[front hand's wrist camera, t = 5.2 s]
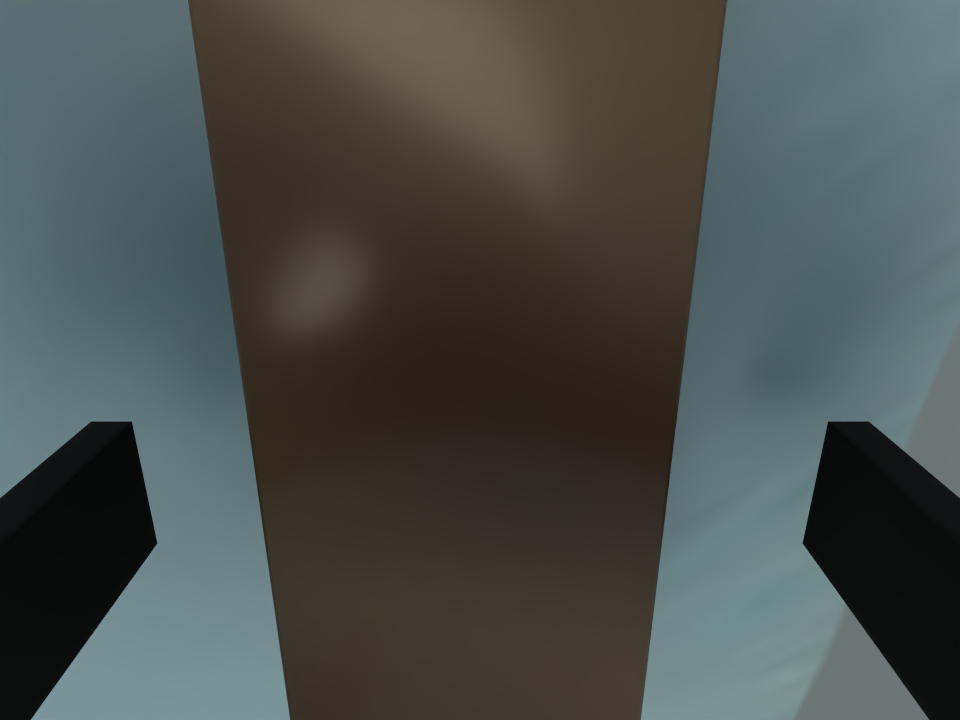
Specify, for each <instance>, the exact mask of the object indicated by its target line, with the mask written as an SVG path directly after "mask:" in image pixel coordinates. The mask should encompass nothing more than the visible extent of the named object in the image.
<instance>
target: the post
mask: <svg viewBox="0 0 960 720" xmlns="http://www.w3.org/2000/svg"><path fill="white" fill-rule="evenodd" d="M188 3H189V10H190V17H191V24H192V31H193V38H194V45H195V52H196V59H197V66H198V73H199V80H200V87H201V94H202V101H203V108H204V115H205V122H206V130H207V137H208V144H209V151H210V158H211V165H212V172H213V179H214V186H215V193H216V200H217V207H218V214H219V221H220V228H221V235H222V242H223V249H224V256H225V263H226V271H227V278H228V285H229V292H230V299H231V306H232V313H233V320H234V327H235V334H236V341H237V348H238V355H239V362H240V369H241V376H242V383H243V390H244V397H245V405H246V412H247V419H248V426H249V433H250V440H251V447H252V454H253V461H254V468H255V475H256V482H257V489H258V496H259V503H260V510H261V517H262V524H263V531H264V538H265V546H266V553H267V560H268V567H269V574H270V581H271V588H272V595H273V602H274V609H275V616H276V623H277V630H278V637H279V644H280V651H281V658H282V665H283V672H284V679H285V687H286V694H287V701H288V708H289V715H290V720H641V712H642V704H643V695H644V687H645V679H646V670H647V662H648V654H649V645H650V637H651V629H652V620H653V612H654V604H655V595H656V587H657V579H658V570H659V562H660V554H661V545H662V537H663V529H664V520H665V512H666V504H667V495H668V487H669V479H670V470H671V462H672V454H673V445H674V437H675V429H676V421H677V412H678V404H679V396H680V387H681V379H682V371H683V362H684V354H685V346H686V337H687V329H688V321H689V312H690V304H691V296H692V287H693V279H694V271H695V262H696V254H697V246H698V237H699V229H700V221H701V212H702V204H703V196H704V187H705V179H706V171H707V162H708V154H709V146H710V137H711V129H712V121H713V112H714V104H715V96H716V87H717V79H718V71H719V63H720V54H721V46H722V38H723V29H724V21H725V13H726V4H727V0H188Z"/></svg>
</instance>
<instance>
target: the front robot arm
mask: <svg viewBox="0 0 960 720" xmlns="http://www.w3.org/2000/svg"><path fill="white" fill-rule="evenodd" d="M156 544H157V540H156V535H155V530H154V525H153V521H152V516H151V511H150V506H149V501H148V497H147V492H146V487H145V482H144V478H143V473H142V468H141V463H140V458H139V454H138V449H137V444H136V439H135V435H134V430H133V425H132V422H90V423H89V424H88V425H87V426H85V427H84V428H83V429H82V430H81V431H79V432H78V433H77V434H76V435H75V436H74V437H72V438H71V439H70V440H69V441H68V442H66V443H65V444H64V445H63V446H62V447H61V448H59V449H58V450H57V451H56V452H55V453H53V454H52V455H51V456H50V457H49V458H47V459H46V460H45V461H44V462H43V463H42V464H40V465H39V466H38V467H37V468H36V469H34V470H33V471H32V472H31V473H30V474H28V475H27V476H26V477H25V478H24V479H23V480H21V481H20V482H19V483H18V484H17V485H15V486H14V487H13V488H12V489H11V490H9V491H8V492H7V493H6V494H5V495H4V496H2V497H1V498H0V720H31V718H32V717H33V716H34V714H35V713H36V712H37V710H38V709H39V707H40V706H41V705H42V703H43V702H44V700H45V699H46V698H47V696H48V695H49V693H50V692H51V691H52V689H53V688H54V686H55V685H56V684H57V682H58V681H59V680H60V678H61V677H62V675H63V674H64V673H65V671H66V670H67V668H68V667H69V666H70V664H71V663H72V661H73V660H74V659H75V657H76V656H77V654H78V653H79V652H80V650H81V649H82V647H83V646H84V645H85V643H86V642H87V641H88V639H89V638H90V636H91V635H92V634H93V632H94V631H95V629H96V628H97V627H98V625H99V624H100V622H101V621H102V620H103V618H104V617H105V615H106V614H107V613H108V611H109V610H110V608H111V607H112V606H113V604H114V603H115V602H116V600H117V599H118V597H119V596H120V595H121V593H122V592H123V590H124V589H125V588H126V586H127V585H128V583H129V582H130V581H131V579H132V578H133V576H134V575H135V574H136V572H137V571H138V570H139V568H140V567H141V565H142V564H143V563H144V561H145V560H146V558H147V557H148V556H149V554H150V553H151V551H152V550H153V549H154V547H155V546H156ZM803 544H804V546H805V547H806V549H807V550H808V551H809V553H810V554H811V556H812V557H813V558H814V560H815V561H816V563H817V564H818V565H819V567H820V568H821V570H822V571H823V572H824V574H825V575H826V576H827V578H828V579H829V581H830V582H831V583H832V585H833V586H834V588H835V589H836V590H837V592H838V593H839V595H840V596H841V597H842V599H843V600H844V602H845V603H846V604H847V606H848V607H849V608H850V610H851V611H852V613H853V614H854V615H855V617H856V618H857V620H858V621H859V622H860V624H861V625H862V627H863V628H864V629H865V631H866V632H867V634H868V635H869V636H870V638H871V639H872V641H873V642H874V643H875V645H876V646H877V647H878V649H879V650H880V652H881V653H882V654H883V656H884V657H885V658H886V660H887V661H888V663H889V664H890V666H891V667H892V668H893V670H894V671H895V672H896V674H897V675H898V677H899V678H900V680H901V681H902V682H903V684H904V685H905V686H906V688H907V689H908V691H909V692H910V693H911V695H912V696H913V698H914V699H915V700H916V702H917V703H918V705H919V706H920V707H921V709H922V710H923V712H924V713H925V714H926V716H927V717H928V718H929V720H960V498H959V497H958V496H956V495H955V494H954V493H953V492H952V491H950V490H949V489H948V488H947V487H946V486H945V485H943V484H942V483H941V482H940V481H939V480H937V479H936V478H935V477H934V476H933V475H931V474H930V473H929V472H928V471H927V470H926V469H924V468H923V467H922V466H921V465H920V464H918V463H917V462H916V461H915V460H914V459H913V458H911V457H910V456H909V455H908V454H907V453H905V452H904V451H903V450H902V449H901V448H899V447H898V446H897V445H896V444H895V443H894V442H892V441H891V440H890V439H889V438H888V437H886V436H885V435H884V434H883V433H882V432H880V431H879V430H878V429H877V428H876V427H875V426H873V425H872V424H871V423H870V422H828V425H827V430H826V435H825V439H824V444H823V449H822V454H821V458H820V463H819V468H818V473H817V478H816V482H815V487H814V492H813V497H812V501H811V506H810V511H809V516H808V521H807V525H806V530H805V535H804V540H803Z"/></svg>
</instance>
